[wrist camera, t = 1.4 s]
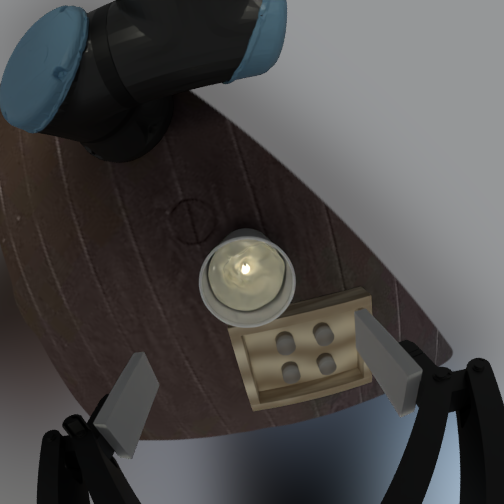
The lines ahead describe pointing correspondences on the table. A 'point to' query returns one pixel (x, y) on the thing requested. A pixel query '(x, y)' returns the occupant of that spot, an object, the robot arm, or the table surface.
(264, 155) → the table surface
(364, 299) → the peg frame
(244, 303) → the candle holder
